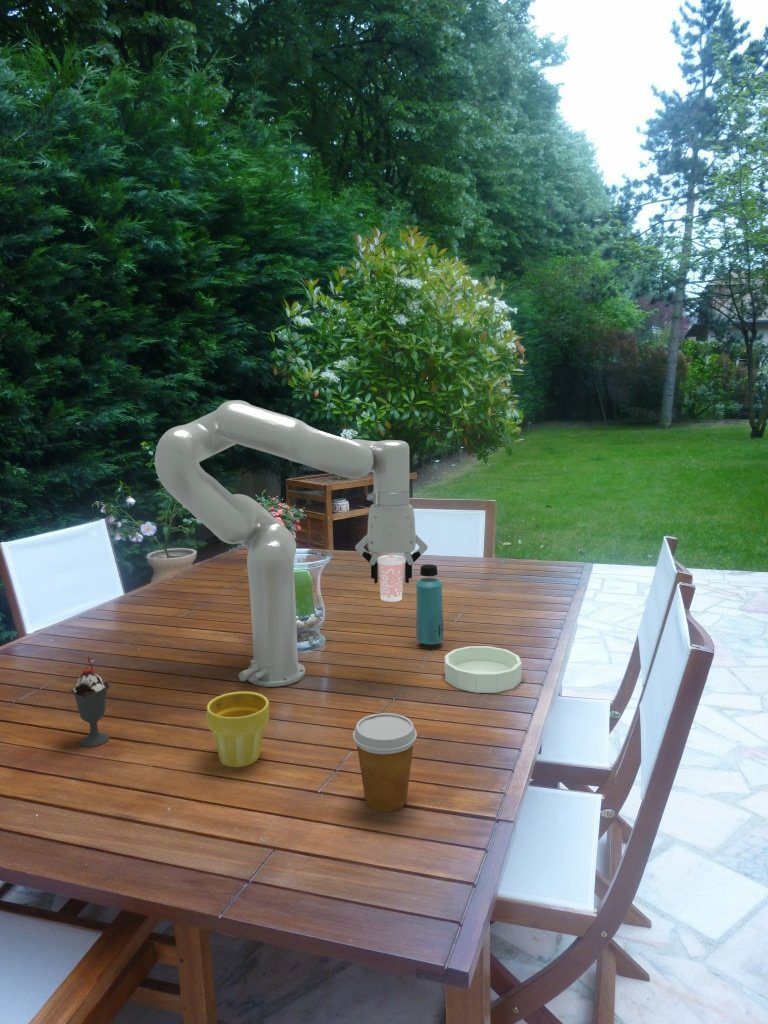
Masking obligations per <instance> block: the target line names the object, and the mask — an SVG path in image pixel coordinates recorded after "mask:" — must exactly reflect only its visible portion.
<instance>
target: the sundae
mask: <svg viewBox="0 0 768 1024" xmlns="http://www.w3.org/2000/svg"><path fill="white" fill-rule="evenodd" d="M86 659H87V662H88V663H87V664H88V665H87V666H86V667H85V668H84V669H82V673H81V675H80V676H78V679H77V681H76V684H75V685H73V686H72V687H71V688H70V689H69V693H70V694H72V695H73V696H74V698H75V702H76V705H77V710H78V714H79V717H80V718H81V720H83V721H84V722H85V723H88V724H89V729H90V730H89V734H88V735H86V736H84V737H83V738H81V739H80V741H79V744H80V745H81V746H83V747H86V748H91V747H92V748H93V747H98V746H101V745H103V744H105V743H107V742H108V741H109V740H110V735H109V734H107V733H105V732H99V729H98V722H99V721H100V720H101V719H102V718H103V717H104V715H105V709H106V702H107V701H106V700H107V699H106V697H107V691H109V690H110V688H111V682H109V681H108V680H105V679H102V677H101V676H100V675H98V674H96V670H95V669H94V668H93V665H92V662H91V660H90V659H91V657H90V656H89V657H87V658H86ZM89 666H90V667H91V668H90V669H89Z"/></svg>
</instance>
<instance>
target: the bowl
mask: <svg viewBox="0 0 768 1024" xmlns="http://www.w3.org/2000/svg"><path fill="white" fill-rule="evenodd" d="M522 664H523V663H522V660H521V658H520V656H519V655H518V654H515V653H514V652H512V651H510V650H508V649H505V648H499V647H495V646H489V645H487V646H486V645H484V646H483V645H481V646H480V645H479V646H478V645H477V646H476V645H473V646H472V645H471V646H470V645H469V646H465V647H460V648H455V649H453V650H451V651H450V652H448V653H447V654H445V655H444V678H445V679H444V680H445V682H446V683H448V684H449V685H451V686H452V687H454V688H455V689H458V690H461V691H462V690H463V691H466V692H470V693H476V694H477V693H478V694H480V693H481V694H482V693H483V694H491V693H493V694H497V693H501V692H506V691H509V690H514V689H515V688H516V687H517V686H518V685H519V684H520V683H521V682H522Z"/></svg>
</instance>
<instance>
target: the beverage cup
mask: <svg viewBox="0 0 768 1024" xmlns="http://www.w3.org/2000/svg"><path fill="white" fill-rule="evenodd" d="M406 560H407V559H406V557H405V556H403V555H398V554H396V555H395V554H385V555H380V556H378V558H377V563H378V576H379V578H378V579H379V592H380V593H379V594H380V600H382V601H384V602H387V603H388V602H391V603H393V602H394V603H395V602H399V601H401V600H402V599H403V589H404V585H403V584H404V577H405V563H406Z"/></svg>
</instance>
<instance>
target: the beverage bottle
mask: <svg viewBox="0 0 768 1024" xmlns="http://www.w3.org/2000/svg"><path fill="white" fill-rule="evenodd" d="M419 575H420V576H422V577H423V578H421V579H419V580H418V581H417V582H416V584H415V586H416V587H415V588H416V589H415V591H416V596H415V597H416V605H415V608H416V612H415V615H416V625H415V627H416V634H415V635H416V639H417V642H419V644H423V645H437V644H440V643H442V642H443V639H444V620H443V619H444V616H443V615H444V612H443V601H444V600H443V583H442V581H441V580H439V579H438V578H435V576H437V575H438V567H437V565H436V564H423V565H421V566H420V571H419Z"/></svg>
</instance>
